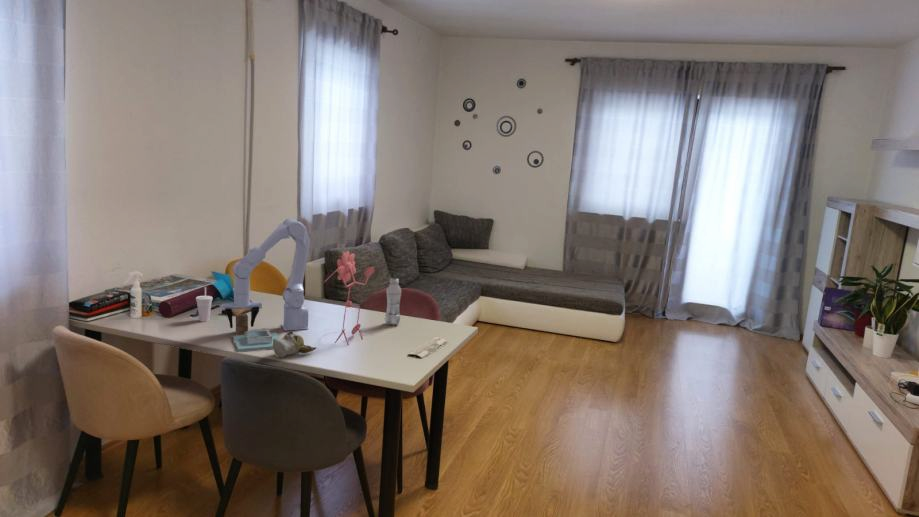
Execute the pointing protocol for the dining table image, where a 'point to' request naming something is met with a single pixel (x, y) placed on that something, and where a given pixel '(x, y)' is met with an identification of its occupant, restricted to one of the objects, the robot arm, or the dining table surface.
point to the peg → (241, 323)
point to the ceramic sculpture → (290, 345)
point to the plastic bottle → (393, 302)
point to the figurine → (345, 272)
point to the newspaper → (428, 347)
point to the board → (243, 346)
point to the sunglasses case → (238, 311)
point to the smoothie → (204, 307)
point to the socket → (257, 337)
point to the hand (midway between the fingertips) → (241, 326)
